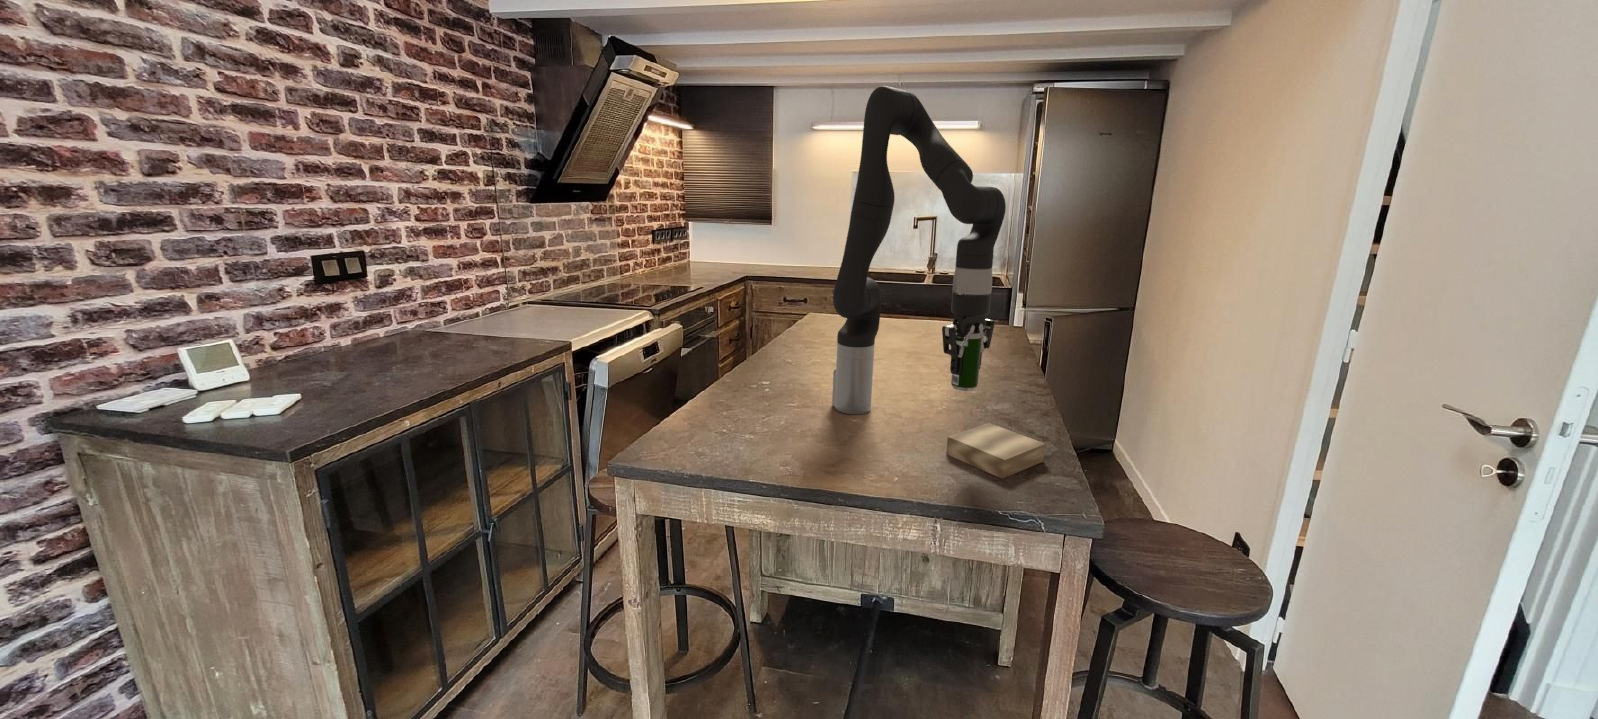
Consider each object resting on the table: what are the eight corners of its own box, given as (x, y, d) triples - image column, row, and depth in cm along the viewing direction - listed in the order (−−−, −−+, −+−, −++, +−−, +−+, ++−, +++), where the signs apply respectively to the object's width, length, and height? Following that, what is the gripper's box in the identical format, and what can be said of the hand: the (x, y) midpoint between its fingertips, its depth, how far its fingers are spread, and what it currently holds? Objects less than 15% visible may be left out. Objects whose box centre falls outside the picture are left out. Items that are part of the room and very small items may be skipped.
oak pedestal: (946, 453, 131) (947, 436, 129) (986, 439, 139) (988, 422, 138) (1002, 478, 120) (1004, 459, 119) (1042, 461, 128) (1045, 443, 127)
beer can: (964, 393, 124) (969, 335, 121) (945, 386, 128) (949, 330, 125) (983, 388, 127) (988, 332, 124) (963, 382, 131) (967, 327, 128)
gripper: (979, 285, 129) (972, 362, 134) (933, 290, 121) (927, 373, 125) (1009, 289, 124) (1002, 370, 128) (963, 295, 115) (956, 382, 120)
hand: (965, 371), depth 127 cm, fingers closed on beer can, 5 cm apart
